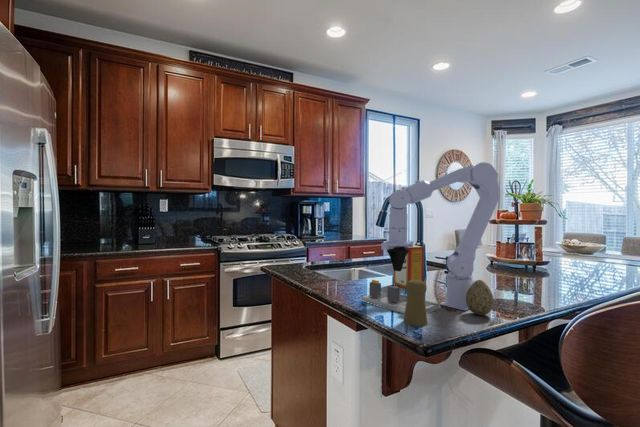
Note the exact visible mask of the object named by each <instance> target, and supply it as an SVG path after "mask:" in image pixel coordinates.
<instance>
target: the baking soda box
mask: <svg viewBox="0 0 640 427" xmlns="http://www.w3.org/2000/svg"><path fill="white" fill-rule="evenodd" d="M405 248H407V249H409V252H408V253H407V255H406V257H405V260H404V263H403V266H402V270H401V271H394V270H393V276H392V277H393V278H392V285H393V284H395V285H394V286H396V285H397V286H396V287H400V288H403V289H404V288H405V289H404V290H406V284H407V282H408V281H410V280H420V281H423V282H424V255H425V254H424V251H425V250H424V249H425V248H424V246H420V245H416V244H413V247H405Z"/></svg>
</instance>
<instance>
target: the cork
mask: <svg viewBox="0 0 640 427" xmlns="http://www.w3.org/2000/svg"><path fill="white" fill-rule="evenodd" d="M405 290H406V293H407V292H408V296H407V295H406V296H407V303H406V309H405V314H404V317H403V323H404V322H405V323H404V324H405V325H408V324H409V325H408V326H411V325H413V326H412V327H425V326H427V325H428V316H427V315H428V314H426V306H425V301H426V299H425V298H426V297H425V294H426V292H427V290H428V289H427V283H426V282H425V281H424V280H423V281H420V280H410V281H408V282H407V284H406V289H405Z"/></svg>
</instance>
